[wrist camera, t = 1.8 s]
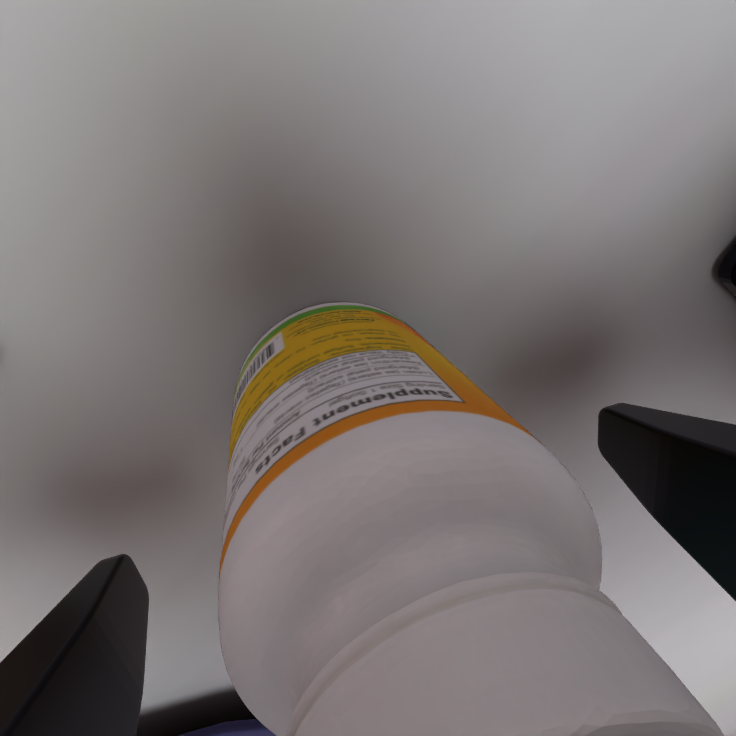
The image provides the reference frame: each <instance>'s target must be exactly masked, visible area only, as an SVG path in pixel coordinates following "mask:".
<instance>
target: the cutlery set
mask: <svg viewBox="0 0 736 736" xmlns="http://www.w3.org/2000/svg"><path fill="white" fill-rule="evenodd" d="M178 736H276V735H275V734H274V733H272V732H271V731H270V730H269V729H268V728H266V727H265V726H264V725H263V724H262V723H261V722H260V721H259V720H258V719H250V720H239V721H227V722H223V723H219V724H216V725H212V726H209V727H206V728H202V729H199V730H195V731H192V732H188V733H185V734H181V735H178Z"/></svg>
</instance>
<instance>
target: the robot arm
mask: <svg viewBox="0 0 736 736" xmlns="http://www.w3.org/2000/svg"><path fill="white" fill-rule="evenodd" d="M718 278H719V279H720V281H721V283H722V284H723V285H724V286H725V287H726V288H727V289H728V290H729V291H730V292H731V293H732V294H733V295H734V296H735V297H736V244H735V245H734V247H733V248H732V249H731V250H730V252H729V253H728V254H727V255H726V257H725V258H724V259H723V261H722V262H721V264H720V267H719V270H718ZM598 447H599V450H600V452H601V454H602V456H603V457H604V458H605V459H606V461H607V462H608V463H609V464H610V466H611V467H612V468H613V469H614V470H615V472H616V473H617V474H618V475H619V477H620V478H621V479H622V480H623V481H624V483H625V484H626V485H627V486H628V488H629V489H630V490H631V491H632V492H633V494H634V495H635V496H636V497H637V499H638V500H639V501H640V502H641V504H642V505H643V506H644V507H645V508H646V509H647V511H648V512H649V513H650V514H651V515H652V516H653V517H654V519H655V520H656V521H657V522H658V523H659V524H660V525H661V526H662V527H663V528H664V529H665V530H666V531H667V532H668V533H669V534H670V535H671V536H672V537H673V538H674V539H675V540H676V541H677V542H678V543H679V544H680V545H681V546H682V547H683V548H684V549H685V550H686V551H687V552H688V553H689V554H690V555H691V556H692V557H693V558H694V559H695V560H696V561H697V562H698V564H699V565H700V566H701V567H702V568H703V569H704V570H705V571H706V572H707V573H708V574H709V575H710V576H711V577H712V578H713V579H714V580H715V581H716V582H717V583H718V584H719V585H720V586H721V587H722V588H723V589H724V590H725V591H726V592H727V593H728V594H729V595H730V596H731V597H732V598H733V599H734V600H735V601H736V425H734V424H729V423H724V422H718V421H713V420H708V419H703V418H698V417H693V416H687V415H682V414H677V413H672V412H667V411H661V410H656V409H651V408H646V407H641V406H636V405H630V404H625V403H618V404H614V405H611V406H608V407H604V408H603V409H601V410H600V412H599V416H598ZM148 608H149V594H148V590H147V587H146V584H145V583H144V581H143V579H142V577H141V575H140V573H139V572H138V570H137V568H136V566H135V564H134V562H133V560H132V559H131V557H130V556H128V555H127V554H120V555H117V556H114V557H110V558H107V559H104V560H101V561H100V562H99V563H97V564H96V565H95V566H94V567H93V568H92V570H91V571H90V572H89V573H88V574H87V575H86V576H85V577H84V578H83V579H82V580H81V581H80V582H79V583H78V584H77V585H76V586H75V587H74V588H73V589H72V590H71V591H70V592H69V593H68V594H67V595H66V596H65V597H64V598H63V599H62V600H61V601H60V602H59V603H58V604H57V605H56V606H55V607H54V608H53V609H52V610H51V611H50V613H49V614H48V615H47V616H46V617H45V618H44V619H43V620H42V621H41V622H40V623H39V624H38V625H37V626H36V627H35V628H34V629H33V630H32V631H31V632H30V633H29V634H28V635H27V636H26V637H25V638H24V639H23V640H22V641H21V642H20V643H19V644H18V645H17V646H16V647H15V648H14V649H13V650H12V651H11V652H10V653H9V654H8V655H7V657H6V658H5V659H4V660H3V661H2V662H1V663H0V736H136V732H137V726H138V720H139V714H140V708H141V701H142V694H143V684H144V671H145V655H146V640H147V624H148Z"/></svg>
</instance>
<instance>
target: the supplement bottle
mask: <svg viewBox="0 0 736 736" xmlns="http://www.w3.org/2000/svg"><path fill="white" fill-rule="evenodd" d="M601 571H602V548H601V540H600V535H599V530H598V526H597V522H596V519H595V516H594V514H593V511H592V508H591V506H590V504H589V502H588V500H587V498H586V497H585V495H584V493H583V491H582V489H581V488H580V486H579V485H578V483H577V482H576V480H575V479H574V478H573V476H572V475H571V474H570V473H569V471H568V470H567V469H566V468H565V467H564V466H563V465H562V464H561V463H560V462H559V461H558V460H557V459H556V458H555V457H554V456H553V455H552V454H551V453H550V452H549V451H548V450H547V449H546V448H545V447H544V446H543V445H542V444H541V443H540V442H539V441H538V440H537V439H536V438H535V437H534V436H532V435H531V434H530V433H529V432H528V431H527V430H526V429H525V428H524V427H522V426H521V425H520V424H519V423H518V422H517V421H516V420H514V419H513V418H512V417H511V416H510V415H509V414H507V413H506V412H505V411H504V410H503V409H502V408H501V407H500V406H499V405H497V404H496V403H495V402H494V401H493V400H492V399H491V398H490V397H488V396H487V395H486V394H485V393H484V392H483V391H482V390H481V389H479V388H478V387H477V386H476V385H475V384H474V383H473V382H472V381H471V380H470V379H469V378H468V377H467V376H465V375H464V374H463V373H462V372H461V371H460V370H458V369H457V368H456V367H455V366H454V365H453V364H452V363H450V362H449V361H448V360H447V359H446V358H445V357H444V356H443V355H442V354H441V353H439V352H438V351H437V350H436V349H435V348H434V347H433V346H432V345H430V344H429V343H428V342H427V341H426V340H425V339H424V338H423V337H421V336H420V335H419V334H418V333H417V332H416V331H415V330H413V329H412V328H411V327H410V326H408V325H407V324H406V323H404V322H403V321H402V320H400V319H399V318H397V317H396V316H394V315H392V314H390V313H389V312H386V311H384V310H382V309H379V308H376V307H373V306H370V305H365V304H360V303H350V302H336V303H326V304H320V305H316V306H311V307H308V308H305V309H303V310H300V311H298V312H296V313H294V314H292V315H290V316H288V317H287V318H285V319H283V320H282V321H280V322H279V323H277V324H276V325H275V326H274V327H272V328H271V329H270V330H269V331H268V332H267V333H266V334H265V335H264V336H263V337H262V338H261V339H260V340H259V341H258V342H257V343H256V345H255V346H254V347H253V349H252V350H251V352H250V353H249V355H248V356H247V358H246V360H245V362H244V364H243V366H242V369H241V371H240V374H239V378H238V381H237V385H236V390H235V395H234V401H233V410H232V424H231V439H230V451H229V466H228V478H227V491H226V504H225V515H224V528H223V540H222V551H221V561H220V572H219V590H218V601H219V608H218V620H219V630H220V640H221V648H222V654H223V657H224V661H225V665H226V669H227V671H228V674H229V676H230V678H231V681H232V683H233V685H234V687H235V690H236V691H237V693H238V695H239V696H240V698H241V699H242V701H243V703H244V704H245V705H246V707H247V708H248V709H249V710H250V712H251V713H252V714H253V715H254V716H255V717H256V718H257V719H258V720H259V721H260V722H261V723H262V724H263V725H264V726H265V727H266V728H268V729H269V730H270V731H271V732H272V733H274V734H275V735H276V736H724V735H723V733H722V732H721V730H720V728H719V727H718V725H717V724H716V722H715V721H714V720H713V719H712V718H711V716H710V715H709V714H708V713H707V712H706V710H705V709H704V708H703V707H702V706H701V704H700V703H699V702H698V701H697V700H696V698H695V697H694V696H693V695H692V694H691V693H690V691H689V690H688V689H687V688H686V687H685V685H684V684H683V683H682V682H681V680H680V679H679V678H678V677H677V676H676V674H675V673H674V672H673V671H672V669H671V668H670V667H669V666H668V665H667V664H666V663H665V662H664V660H663V659H662V658H661V657H660V656H659V655H658V654H657V653H656V652H655V650H654V649H653V648H652V647H651V646H650V645H649V644H648V643H647V641H646V640H645V639H644V638H643V637H642V636H641V635H640V634H639V632H638V631H637V630H636V629H635V628H634V627H633V626H632V624H631V623H630V622H629V621H628V620H627V619H626V618H625V617H624V616H623V615H622V613H621V612H620V610H619V609H618V608H617V606H616V605H615V604H614V603H613V602H612V601H611V600H610V599H609V598H608V597H607V596H606V595H605V594H603V593H602V592H601V591H599V588H600V583H601Z"/></svg>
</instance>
